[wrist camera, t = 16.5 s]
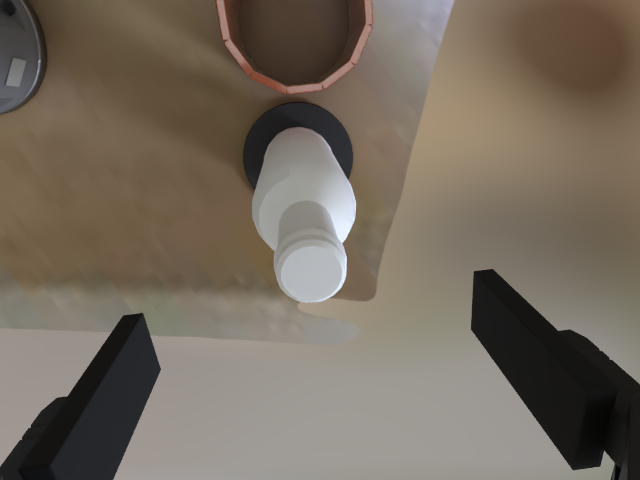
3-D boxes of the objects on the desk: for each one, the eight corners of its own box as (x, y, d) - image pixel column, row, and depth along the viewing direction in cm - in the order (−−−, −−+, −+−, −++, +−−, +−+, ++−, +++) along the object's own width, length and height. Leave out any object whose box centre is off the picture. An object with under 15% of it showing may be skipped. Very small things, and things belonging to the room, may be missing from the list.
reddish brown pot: (215, 58, 44) (196, 53, 35) (259, -74, 40) (249, -120, 30) (324, 108, 47) (333, 117, 37) (375, -10, 42) (399, -34, 33)
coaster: (228, 186, 49) (227, 188, 49) (267, 82, 45) (267, 82, 45) (325, 225, 52) (325, 227, 51) (370, 130, 48) (371, 131, 47)
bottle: (285, 203, 50) (280, 362, 22) (252, 146, 47) (199, 246, 19) (343, 173, 49) (413, 299, 21) (312, 113, 46) (349, 168, 18)
